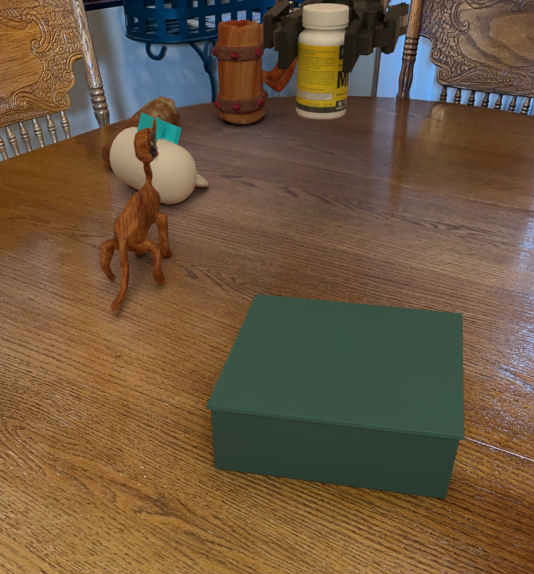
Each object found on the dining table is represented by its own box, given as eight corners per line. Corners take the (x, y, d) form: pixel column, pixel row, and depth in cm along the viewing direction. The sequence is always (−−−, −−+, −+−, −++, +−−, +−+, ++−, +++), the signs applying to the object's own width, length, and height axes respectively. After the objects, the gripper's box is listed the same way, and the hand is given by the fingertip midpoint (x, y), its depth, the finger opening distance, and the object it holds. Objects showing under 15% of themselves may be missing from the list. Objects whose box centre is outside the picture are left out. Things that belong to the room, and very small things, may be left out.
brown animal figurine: (147, 324, 68) (128, 180, 59) (82, 320, 69) (53, 176, 59) (187, 246, 81) (177, 118, 72) (132, 243, 82) (115, 116, 73)
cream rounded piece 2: (170, 126, 82) (119, 104, 89) (151, 205, 86) (104, 178, 93) (244, 150, 90) (192, 128, 97) (224, 220, 94) (176, 195, 101)
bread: (183, 135, 112) (180, 97, 108) (128, 175, 99) (123, 133, 95) (148, 131, 113) (144, 93, 110) (89, 170, 100) (82, 128, 96)
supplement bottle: (343, 122, 63) (350, 12, 58) (291, 119, 64) (294, 10, 58) (348, 107, 67) (355, 2, 61) (299, 105, 67) (302, 1, 62)
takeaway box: (450, 374, 61) (463, 313, 57) (449, 501, 50) (465, 436, 45) (255, 353, 64) (255, 293, 60) (210, 470, 52) (205, 404, 48)
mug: (223, 131, 114) (218, 22, 104) (207, 117, 119) (201, 13, 109) (305, 121, 118) (308, 16, 108) (286, 108, 123) (287, 7, 113)
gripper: (427, 49, 76) (417, 108, 59) (267, 42, 78) (213, 97, 61) (439, -37, 71) (431, 1, 54) (266, -41, 73) (208, -6, 56)
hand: (315, 52), depth 58 cm, fingers closed on supplement bottle, 5 cm apart
